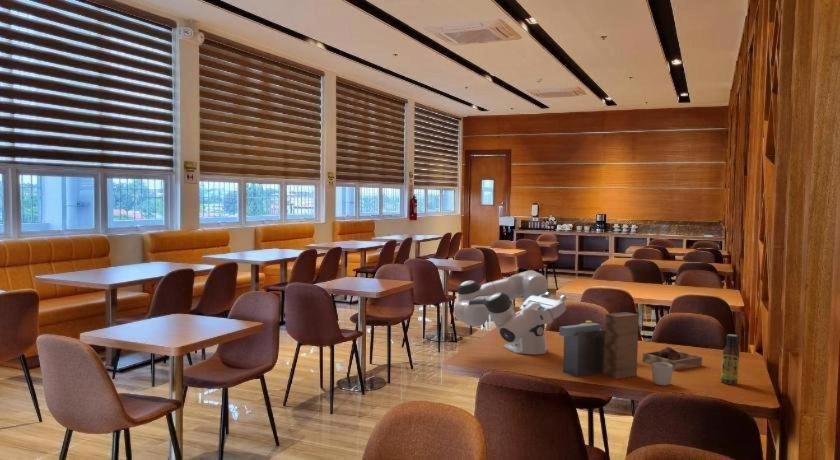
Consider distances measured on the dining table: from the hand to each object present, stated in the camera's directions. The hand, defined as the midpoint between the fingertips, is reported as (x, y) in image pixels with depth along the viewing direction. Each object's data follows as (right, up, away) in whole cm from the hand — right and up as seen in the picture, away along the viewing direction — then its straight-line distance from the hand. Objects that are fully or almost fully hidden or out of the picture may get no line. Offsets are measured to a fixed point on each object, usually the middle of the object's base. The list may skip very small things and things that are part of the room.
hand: (556, 295), depth 266 cm
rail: (+11, -17, +8) cm, 22 cm away
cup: (+41, -36, -4) cm, 54 cm away
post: (+28, -35, +6) cm, 45 cm away
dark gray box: (+14, -34, +10) cm, 38 cm away
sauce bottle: (+70, -36, -3) cm, 79 cm away
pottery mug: (+57, -34, +29) cm, 73 cm away
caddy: (+58, -34, +28) cm, 73 cm away
